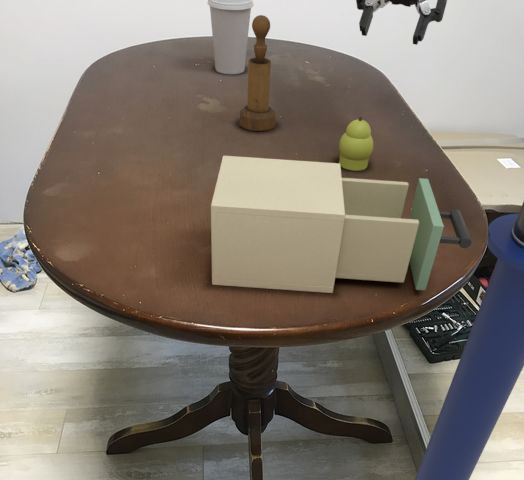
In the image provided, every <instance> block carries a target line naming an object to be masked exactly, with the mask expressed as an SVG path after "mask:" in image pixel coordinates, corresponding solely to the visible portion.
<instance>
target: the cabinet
mask: <svg viewBox="0 0 524 480" xmlns="http://www.w3.org/2000/svg"><path fill="white" fill-rule="evenodd" d="M342 178H343V177H342V167H341V166H340V164H339V162H337V163H336V162H323V161H322V162H321V161H311V160H310V161H309V160H293V159H281V158H280V159H279V158H264V157H252V156H251V157H250V156H235V155H234V156H233V155H222V160H221V163H220V167H219V171H218V175H217V179H216V183H215V186H214V187H215V188H214V191H213V192H214V193H213V196H212V200H211V202H210V203H211V204H210V237H211V238H210V239H211V243H210V244H211V285H213V286H226V287H227V286H228V287H238V288H239V287H242V288H253V289H254V288H255V289H267V290H268V289H269V290H282V291H283V290H284V291H285V290H286V291H296V292H297V291H298V292H309V293H310V292H312V293H324V294H325V293H327V294H334V287H335V281H336V278H335V276H336V269H337V263H338V257H339V250H340V244H341V238H342V231H343V225H344V218H345V209H344V198H343V188H342Z"/></svg>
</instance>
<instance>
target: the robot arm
mask: <svg viewBox="0 0 524 480" xmlns="http://www.w3.org/2000/svg"><path fill="white" fill-rule="evenodd" d="M355 2H356V8H357V10H359V11H362V13H361V16H360V19H359V22H358V24H359V25H358V26H359V32H361V36H364V37H368V33H369V30H370V27H371V24H372V20H373V17H374V13H376V12H377V11H378V10H379V9H383V8H385V7H386V6H387V5H388V4H390V3H391V5H394V6H396V5H397V6H398V5H399V6H400V5H402V6H404V7H409V8H410V7H411V6H414V7H415V9H416V12H417V13H418V14H419V16H418V20H417V23H416V27H415V29H414V32H413V35H412V45H416V46H417V45H418V44H419V42H422V41H423V40H424V38H425V35H426V32H427V29H428V26H429V24H430V23H432V22H436V23H440V22H442V21H443V18H444V15H445V11H446V7H447V3H448V0H437V1H436V4H435V7H433V8H431V7H430V5H429V2H428V0H355ZM518 214H519V215H518V217H517V219H516V222H515V225H514V226H513V229H512V231H511V237H512V239H513V241H514V242H515V243H516V244H517V245H518V246H520V247H521V248H523V249H524V201H523V202H522V204H521V207H520V209H519V212H518Z"/></svg>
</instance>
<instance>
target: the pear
mask: <svg viewBox="0 0 524 480" xmlns="http://www.w3.org/2000/svg"><path fill="white" fill-rule="evenodd" d="M371 129H372V128H371V126H370V124H369V123H368V122H367V121H366V120H363V117H362V116H361V115H359V117H358V118H357V119H354V120H352V121H351V122H349V123H348V125H347V127H346V130H345V132H344V133H343V134H342V135H341V137H340V140H339V142H338V150H339V160H338V163H339V164H340V166H341V168H343V169H345V170H348V171H354V172H358V171H359V172H360V171H364V170H366V169H367V168H368V166H369V160H370V156H372V153H373V152H374V151H373V150H374V145H375V144H374V139H373V137H372V135H371V134H372V130H371Z"/></svg>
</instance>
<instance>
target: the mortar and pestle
mask: <svg viewBox="0 0 524 480" xmlns="http://www.w3.org/2000/svg"><path fill="white" fill-rule="evenodd" d="M251 28H252V32H253V34H254V36H255V39H256V41H255V44H253V51H254V52H253V53H254V56H255V57H252V58H249V59H248V69H247V71H248V73H247V104H246V105H245V106H243V108H241V109H240V111H239V126H240V127H241V128H243V129H245V130H247V131H252V132H262V131H270V130H272V129H274V128H275V127H276V115H277V114H276V111H275V110H274V109H273V107H271V106H270V87H271V85H270V84H271V69H272V60H271V59H269V58H267V57H266V55H267V51H268V45H267V44H266V37H267V36H268V34H269V32H270V30H271V22H270V19H269V18H268V17H267V16H266V15H262V14H261V15H256V16H255V17H254V18H253V20H252V23H251Z"/></svg>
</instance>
